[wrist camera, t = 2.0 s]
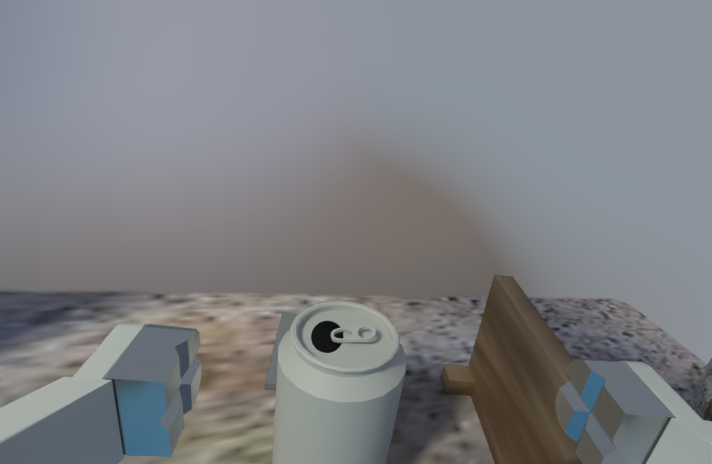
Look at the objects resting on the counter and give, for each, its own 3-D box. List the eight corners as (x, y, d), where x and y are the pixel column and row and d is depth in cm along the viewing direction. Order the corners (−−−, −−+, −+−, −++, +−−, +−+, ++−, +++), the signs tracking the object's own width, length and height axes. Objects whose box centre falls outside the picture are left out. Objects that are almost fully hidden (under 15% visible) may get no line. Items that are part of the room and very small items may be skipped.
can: (281, 421, 31) (290, 286, 27) (379, 431, 32) (405, 298, 27) (259, 525, 24) (265, 368, 20) (384, 536, 25) (420, 383, 20)
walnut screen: (488, 543, 25) (542, 409, 21) (440, 376, 38) (467, 272, 33) (583, 548, 25) (655, 418, 21) (504, 381, 38) (539, 279, 34)
